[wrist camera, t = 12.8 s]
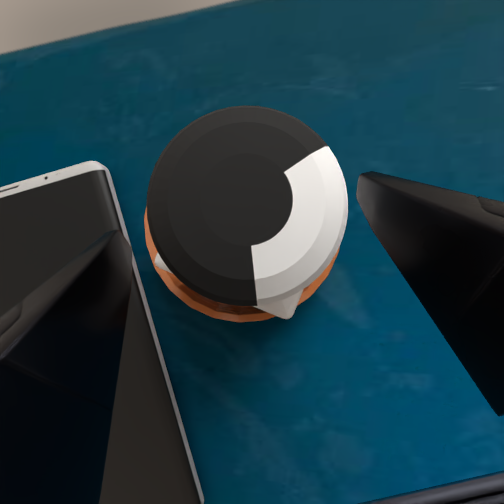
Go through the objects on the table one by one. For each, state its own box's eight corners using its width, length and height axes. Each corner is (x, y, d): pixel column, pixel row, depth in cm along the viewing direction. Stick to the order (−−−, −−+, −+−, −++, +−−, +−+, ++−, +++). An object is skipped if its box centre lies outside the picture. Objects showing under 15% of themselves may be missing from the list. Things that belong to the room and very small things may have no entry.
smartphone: (41, 551, 19) (19, 581, 17) (-52, 212, 19) (-83, 208, 17) (208, 501, 19) (204, 526, 17) (111, 164, 19) (97, 154, 17)
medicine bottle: (189, 262, 19) (72, 272, 7) (224, 175, 19) (174, 29, 7) (276, 297, 18) (320, 374, 6) (311, 210, 19) (419, 126, 7)
